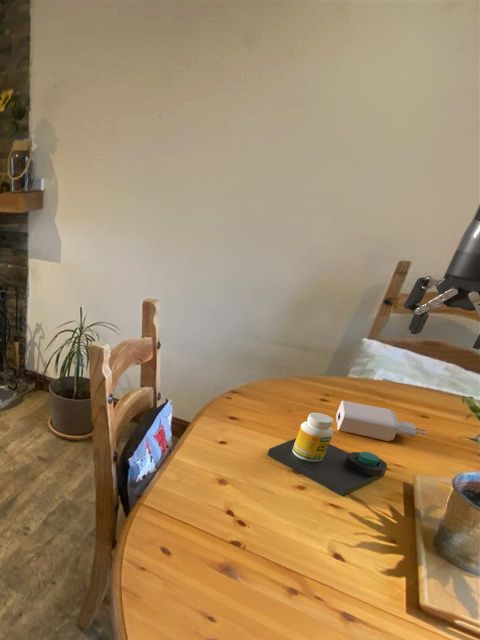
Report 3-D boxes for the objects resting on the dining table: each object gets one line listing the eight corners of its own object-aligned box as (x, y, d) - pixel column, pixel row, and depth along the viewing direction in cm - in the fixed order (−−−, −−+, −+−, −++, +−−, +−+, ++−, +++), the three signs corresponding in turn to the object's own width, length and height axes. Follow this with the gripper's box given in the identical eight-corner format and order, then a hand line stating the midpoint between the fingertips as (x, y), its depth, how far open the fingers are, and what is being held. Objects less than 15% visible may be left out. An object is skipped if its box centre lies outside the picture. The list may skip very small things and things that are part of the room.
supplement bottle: (300, 445, 93) (313, 408, 88) (328, 457, 88) (343, 419, 84) (286, 452, 90) (299, 415, 86) (314, 466, 86) (329, 427, 82)
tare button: (379, 464, 84) (383, 457, 83) (371, 468, 83) (373, 462, 82) (362, 456, 86) (365, 449, 86) (353, 460, 85) (356, 453, 85)
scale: (386, 478, 84) (393, 464, 83) (345, 498, 80) (351, 484, 79) (306, 439, 97) (311, 427, 96) (266, 455, 93) (271, 442, 91)
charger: (425, 451, 91) (337, 432, 99) (417, 431, 98) (335, 414, 106) (435, 433, 89) (344, 415, 97) (426, 414, 96) (342, 398, 104)
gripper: (422, 246, 73) (385, 332, 81) (546, 257, 61) (490, 358, 69) (445, 241, 76) (407, 325, 83) (569, 251, 64) (512, 349, 71)
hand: (445, 340), depth 76 cm, fingers open, 8 cm apart
